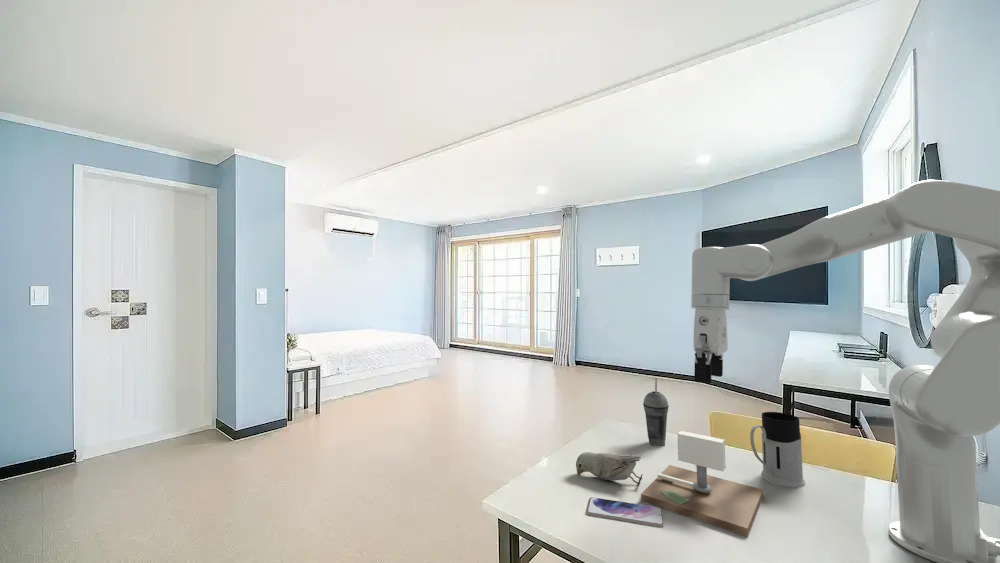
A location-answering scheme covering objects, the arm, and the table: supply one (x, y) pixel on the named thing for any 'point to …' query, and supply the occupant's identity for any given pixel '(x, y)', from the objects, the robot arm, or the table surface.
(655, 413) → the beverage cup
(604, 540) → the table surface
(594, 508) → the smartphone
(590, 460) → the decorative bird
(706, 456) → the stand
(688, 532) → the table surface
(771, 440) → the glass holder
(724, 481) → the brown wooden flat slab
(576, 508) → the table surface
